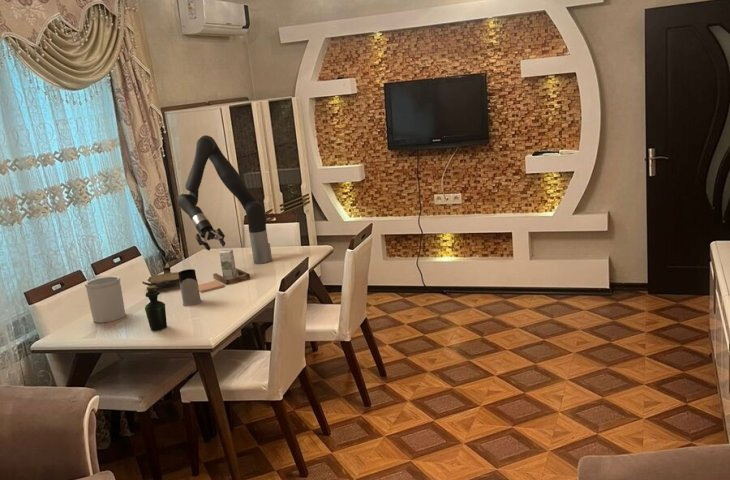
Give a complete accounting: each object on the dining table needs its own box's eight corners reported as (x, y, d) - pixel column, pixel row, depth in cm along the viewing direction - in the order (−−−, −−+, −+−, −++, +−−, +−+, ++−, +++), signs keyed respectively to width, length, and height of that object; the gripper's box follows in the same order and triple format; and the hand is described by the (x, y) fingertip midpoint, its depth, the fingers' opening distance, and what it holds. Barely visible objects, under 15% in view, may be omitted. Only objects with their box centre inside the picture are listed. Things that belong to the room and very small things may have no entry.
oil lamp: (135, 295, 353) (132, 280, 351) (162, 277, 382) (159, 263, 380) (177, 292, 349) (175, 277, 347) (201, 274, 377) (198, 260, 376)
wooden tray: (236, 272, 372) (235, 268, 371) (250, 278, 357) (249, 274, 356) (213, 278, 366) (212, 273, 365) (226, 285, 351) (225, 280, 350)
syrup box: (237, 275, 365) (232, 248, 362) (234, 279, 360) (229, 251, 356) (226, 276, 366) (222, 249, 363) (223, 280, 360) (218, 252, 357)
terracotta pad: (216, 282, 358) (215, 280, 358) (224, 286, 348) (224, 284, 348) (193, 288, 352) (192, 286, 352) (201, 292, 342) (200, 290, 342)
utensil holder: (115, 310, 330) (108, 274, 326) (133, 314, 321) (126, 276, 317) (86, 321, 319) (78, 283, 315) (104, 325, 310) (96, 286, 306)
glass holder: (182, 307, 322) (176, 275, 319) (181, 299, 335) (176, 268, 332) (202, 303, 324) (196, 271, 321) (200, 295, 337) (195, 265, 334)
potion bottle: (171, 323, 300) (163, 282, 296) (166, 330, 293) (158, 288, 289) (151, 326, 300) (143, 285, 296) (146, 332, 292) (138, 290, 288)
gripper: (191, 222, 365) (206, 246, 359) (215, 216, 374) (230, 239, 368) (188, 231, 370) (202, 255, 364) (212, 225, 379) (227, 248, 373)
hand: (216, 247), depth 366 cm, fingers open, 8 cm apart
